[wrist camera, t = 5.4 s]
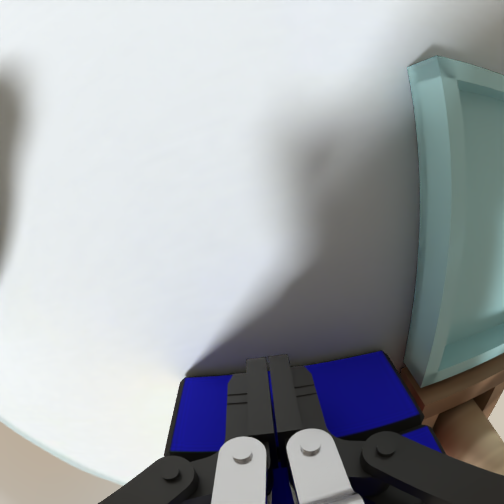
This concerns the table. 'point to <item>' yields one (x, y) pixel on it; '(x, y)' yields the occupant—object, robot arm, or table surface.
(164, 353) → the table surface
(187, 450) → the puzzle cube
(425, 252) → the tray
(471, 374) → the socket block
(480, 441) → the beech dowel
